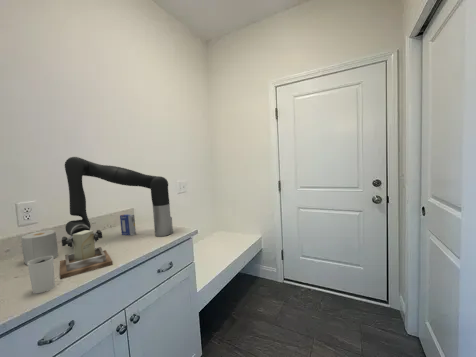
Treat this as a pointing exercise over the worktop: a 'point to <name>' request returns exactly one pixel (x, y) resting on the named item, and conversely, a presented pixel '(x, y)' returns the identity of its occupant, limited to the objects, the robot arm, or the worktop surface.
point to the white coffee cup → (41, 274)
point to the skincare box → (83, 245)
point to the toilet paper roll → (39, 245)
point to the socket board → (84, 263)
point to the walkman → (127, 225)
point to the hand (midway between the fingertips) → (84, 241)
